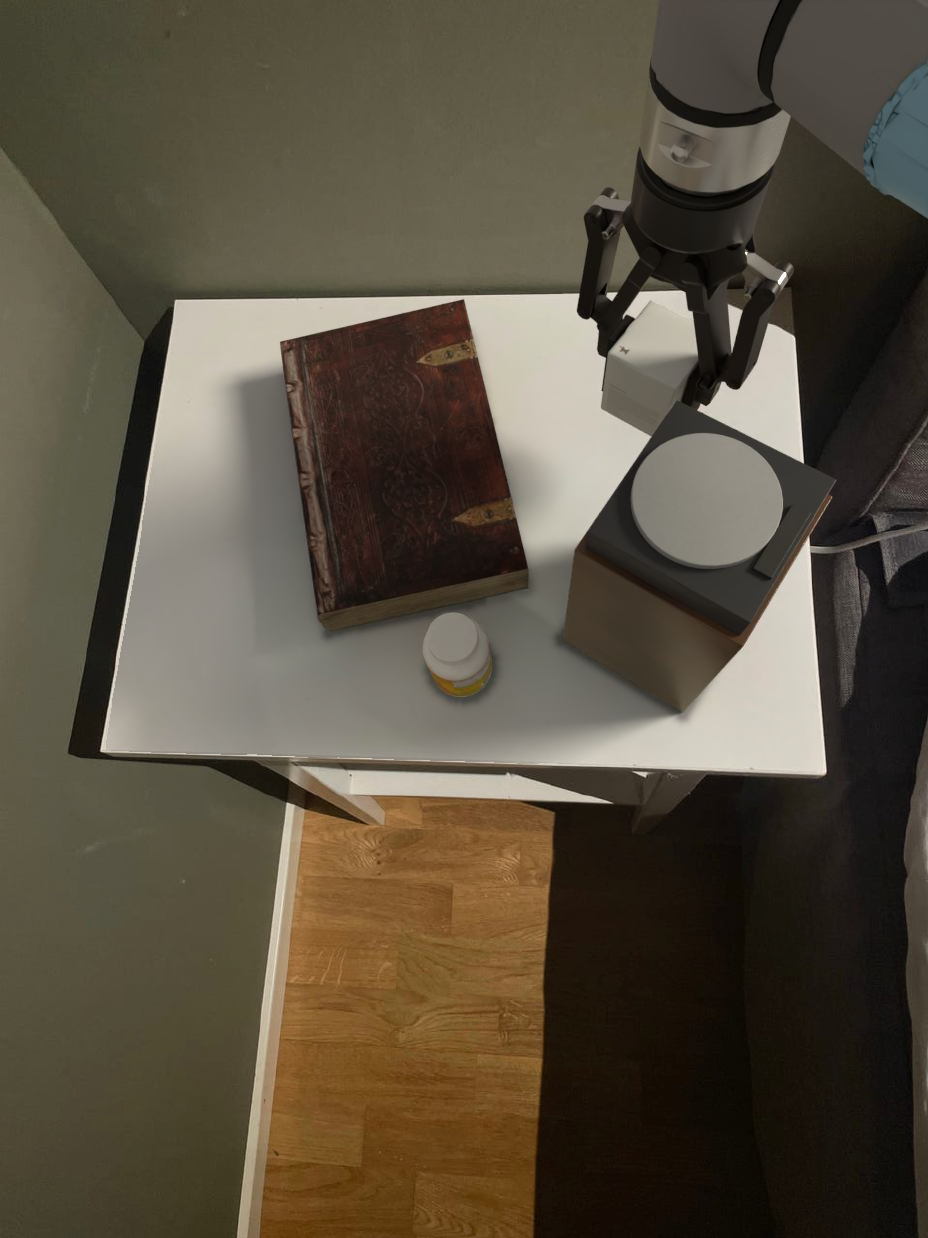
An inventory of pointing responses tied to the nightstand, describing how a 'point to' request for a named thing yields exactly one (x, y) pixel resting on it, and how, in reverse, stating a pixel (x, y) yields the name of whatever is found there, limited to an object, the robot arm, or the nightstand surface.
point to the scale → (709, 516)
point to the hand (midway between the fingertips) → (650, 398)
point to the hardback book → (399, 468)
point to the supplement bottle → (457, 654)
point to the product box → (650, 367)
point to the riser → (651, 627)
